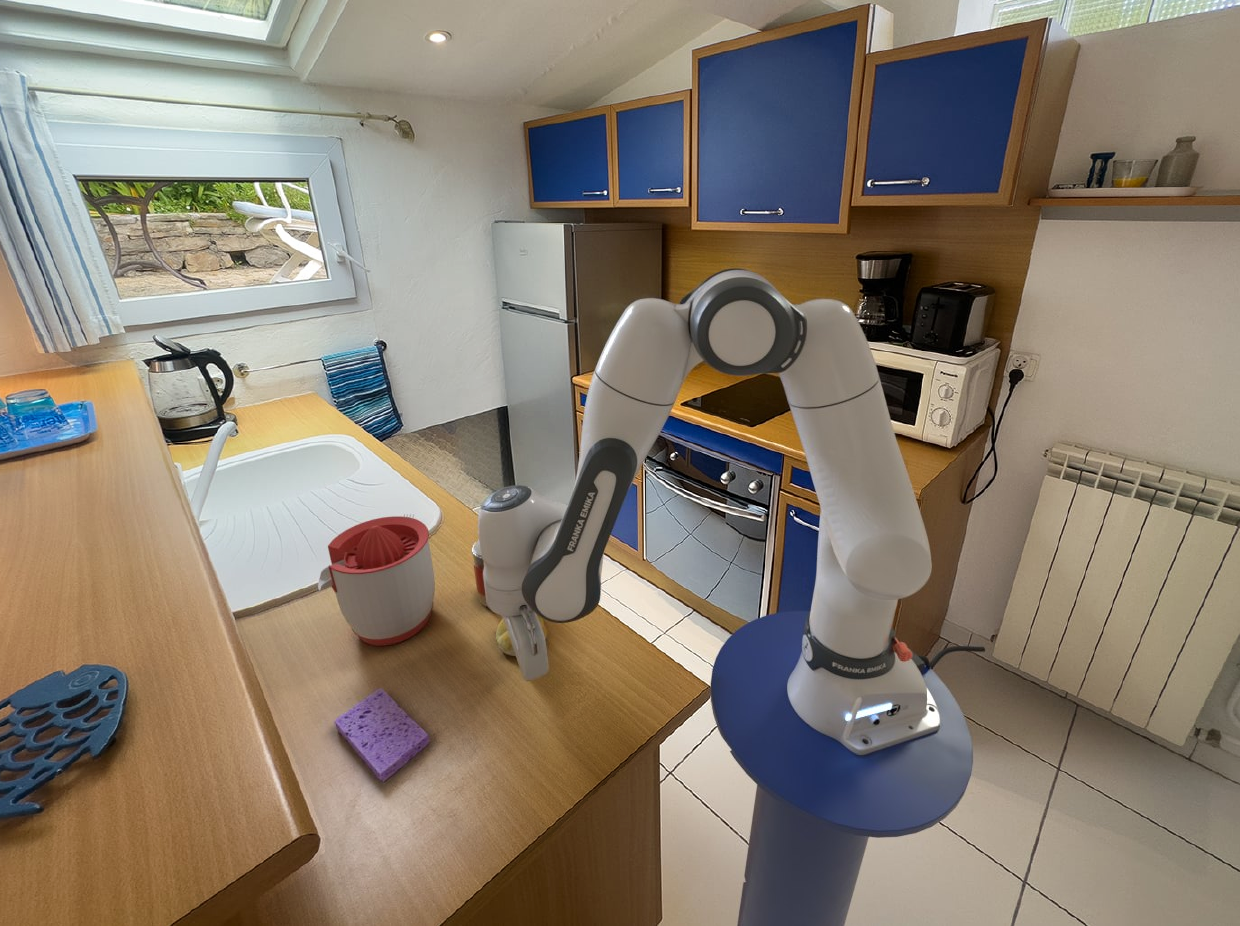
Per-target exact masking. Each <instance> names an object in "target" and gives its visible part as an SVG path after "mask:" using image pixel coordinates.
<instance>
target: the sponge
mask: <svg viewBox="0 0 1240 926" xmlns="http://www.w3.org/2000/svg"><path fill="white" fill-rule="evenodd" d="M333 722H334V724H335V727H336V730H337V731H338V732H339V733H340V734H341V736H342V737H343V738H344V740H347V743H348V744H349V745H350V746H351V747H352V749H353V750H354V751H355V753H356V754H357V755H358V757H360V758H361V760H362V761H364V763H365V764H366V766H367V767H368V768H369V769H370V770H371V771H372V773H373V774H374V775H375V776H376V778H377V779H378V780H379V781H382V783H384V782H385V781H387V779H389V778H390V777H392V776H393V775H394V774H395V773H396V772H397V771H398V770H400V769H401V768H403V767H404V766H405V765H406V764H407V763H408V762H409V761H410V759H413V758H414V757H415V756H417V754H418V753H420V752H421V751H422V750H423V749H425V748H426V747H427V746H428V745H429V743H430V742H431V741H430V737H429V734H428V733H427V732H426V731H425V729H423V728H422V727H421V726H420V725H419V724H418V723H417V722H416V721H414V719H412V717H410V716H409V715H408V713H406V712H405V710H403V708H401V707H399V704H398V703H397V702H396V701H395V700H394V699H393V698H392V697H391V696H390V695H389V694H388V693H387V692H386V691H385V690H384V689H383V688H382V687H379V688H377V689H376V690H374V691H373V692H372V693H370V694H369V695H368V696H366V697H364V699H363V701H359V702H358V703H356V704H355V705H353V707H352V708H350V709H349V710H347V711H346V712H343V713H342V714H341V715H339V716H338V717H337V718H335V719H334V720H333Z"/></svg>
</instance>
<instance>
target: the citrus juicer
mask: <svg viewBox="0 0 1240 926" xmlns="http://www.w3.org/2000/svg"><path fill="white" fill-rule="evenodd" d="M429 538H430V532H429V529H428V527H427V525H426V524H425V523H424V522H423V521H421V520H419V519H416V518H414V517H410V516H409V517H407V516H402V515H401V516H397V515H396V516H395V515H394V516H385V517H379V518H373V519H370V520H368V521H364V522H360V523H359V524H355V525H354V526H352V527H349V528H347V529H346V530H344V531H343V532H341V533H339V534H338V535H337V536H336V537H335V538H333V539H332V540H331V542H329V544H328V545H327V549H328V554H329V558H330V563H331V564H329V565H328V566H326V567H325V568H323V569H322V570H321V571H320V575H319V579H318V584H317V589H318V591H319V592H320V591H323V590H326V589H328V588H331V587H332V590H333V591H334V594H335V596H336V601H337V604H338V608H339V610H340V612H341V615H342V616H343V618H344V619H345V622H346V623H347V625H348V626H349V627H350V628H351V631H352V632H353V633H354V634H355V635H356V636H357V637H358V638H359V639H360V640H362V642H364V643H366V644H368V645H372V646H390V645H394V644H399V643H401V642H403V641H405V640H408V639H410V638H411V637H413V636H415V635H416V634H418V632H420V631H421V630H422V629H423V628H424V627H425V626H426V624H427V623H428V621H429V619H430V617H431V614H432V611H433V608H434V598H435V590H436V581H435V571H434V566H433V560H432V552H431V548H430V541H429Z"/></svg>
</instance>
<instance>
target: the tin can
mask: <svg viewBox="0 0 1240 926" xmlns="http://www.w3.org/2000/svg"><path fill="white" fill-rule="evenodd" d="M471 551H472V559H473V560H472V563H473V570H474V571H473V572H474V578H475V585H476V591H477V596H478V602H479V603H480V604H481V605H482V606H484V607H486V608H489V607H488V605H487V602H486V595H485V587H484V579H483V570H484V561H483V559H482V557H481V554H480V548H479V539H478V540H476V541H475V542H474V544H473V545H472V548H471Z"/></svg>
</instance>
